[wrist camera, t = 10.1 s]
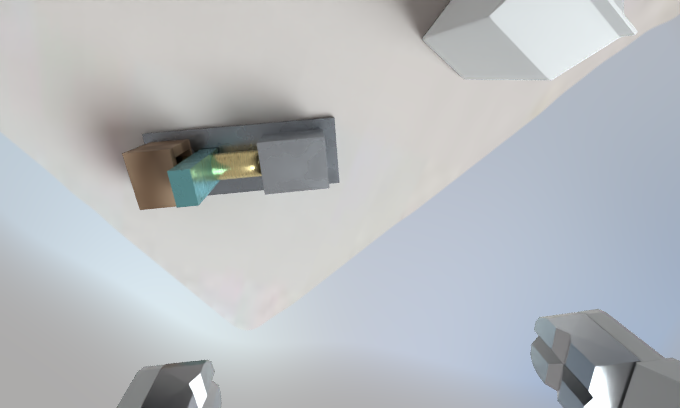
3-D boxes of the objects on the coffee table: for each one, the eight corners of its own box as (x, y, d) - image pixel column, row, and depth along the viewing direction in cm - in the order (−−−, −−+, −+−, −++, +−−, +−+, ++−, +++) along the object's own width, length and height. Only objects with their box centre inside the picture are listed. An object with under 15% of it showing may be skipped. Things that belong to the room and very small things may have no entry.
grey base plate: (333, 117, 39) (338, 123, 34) (338, 181, 42) (343, 196, 37) (144, 133, 38) (116, 142, 32) (163, 198, 41) (140, 217, 35)
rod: (290, 141, 39) (284, 160, 30) (293, 170, 40) (289, 196, 31) (177, 151, 38) (138, 173, 29) (184, 180, 39) (149, 210, 31)
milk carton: (464, 80, 39) (592, 81, 22) (420, 39, 37) (523, 4, 19) (507, 27, 38) (684, -19, 20) (464, -19, 36) (619, -115, 18)
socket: (190, 138, 39) (168, 149, 33) (202, 186, 41) (183, 205, 35) (151, 141, 38) (122, 153, 32) (165, 190, 41) (139, 210, 35)
